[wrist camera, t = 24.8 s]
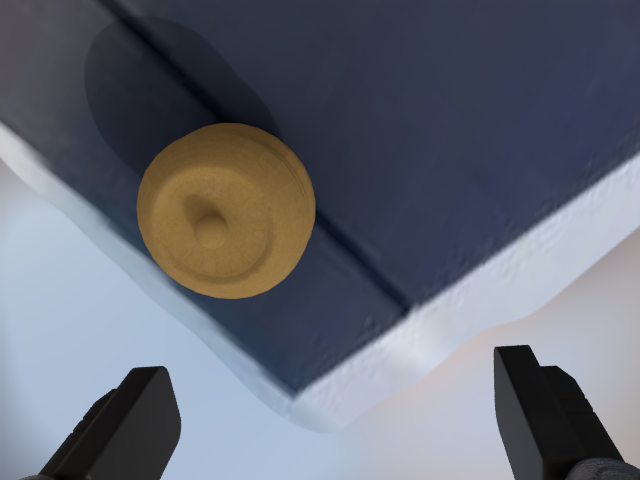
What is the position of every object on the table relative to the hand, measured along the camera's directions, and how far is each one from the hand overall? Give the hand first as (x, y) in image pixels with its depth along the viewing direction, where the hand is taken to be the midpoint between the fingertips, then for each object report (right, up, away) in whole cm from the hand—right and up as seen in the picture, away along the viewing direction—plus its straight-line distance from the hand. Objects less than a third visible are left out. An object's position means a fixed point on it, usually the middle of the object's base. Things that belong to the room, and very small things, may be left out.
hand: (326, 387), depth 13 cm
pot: (-6, +7, +28) cm, 30 cm away
